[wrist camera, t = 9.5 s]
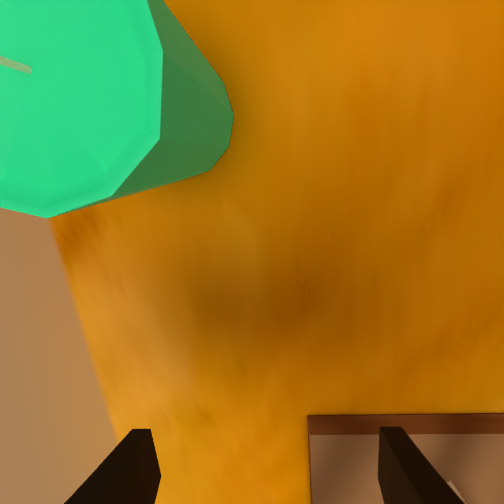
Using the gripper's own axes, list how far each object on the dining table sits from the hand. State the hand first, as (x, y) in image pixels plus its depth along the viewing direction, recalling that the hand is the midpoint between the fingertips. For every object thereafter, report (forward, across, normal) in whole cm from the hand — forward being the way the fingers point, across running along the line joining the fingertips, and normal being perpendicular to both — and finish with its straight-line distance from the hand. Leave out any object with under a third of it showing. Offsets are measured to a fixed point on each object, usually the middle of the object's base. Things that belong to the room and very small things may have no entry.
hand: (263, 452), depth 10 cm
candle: (+10, +4, -11) cm, 15 cm away
